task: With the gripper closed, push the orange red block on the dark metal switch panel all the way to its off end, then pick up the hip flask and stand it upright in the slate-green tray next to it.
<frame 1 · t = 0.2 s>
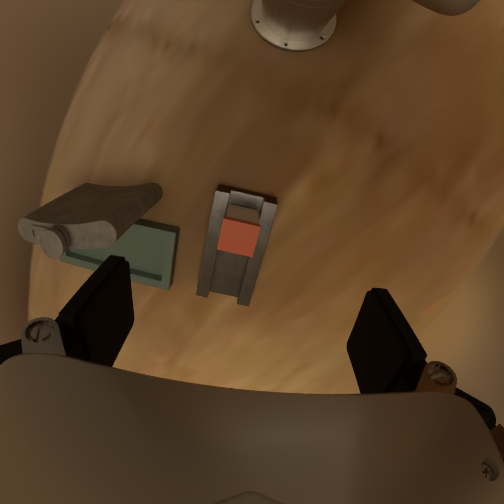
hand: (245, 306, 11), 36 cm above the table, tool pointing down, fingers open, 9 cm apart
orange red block: (239, 228, 42), point 6 cm above the table, slide at 0.0 cm
tray: (115, 242, 49), on the table
switch panel: (235, 242, 49), on the table
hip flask: (119, 194, 46), on the table
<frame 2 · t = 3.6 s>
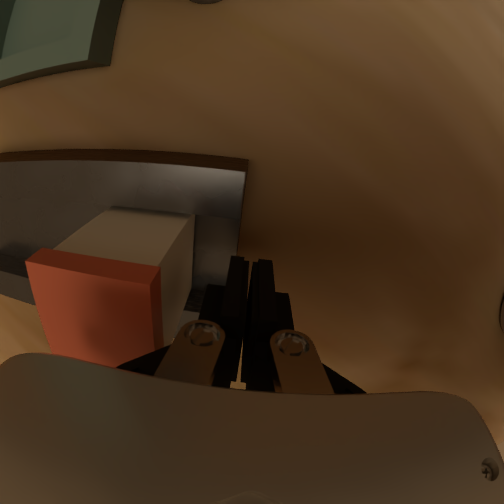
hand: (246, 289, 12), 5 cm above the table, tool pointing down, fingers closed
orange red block: (129, 281, 11), point 6 cm above the table, slide at 0.2 cm, touching gripper
switch panel: (96, 221, 17), on the table
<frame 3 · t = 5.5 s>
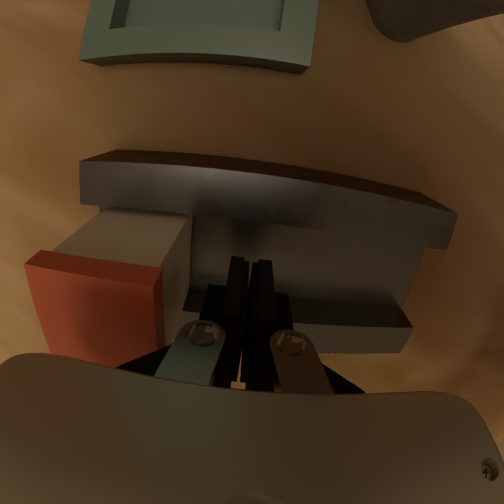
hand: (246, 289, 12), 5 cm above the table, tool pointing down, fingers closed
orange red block: (128, 282, 11), point 6 cm above the table, slide at 10.9 cm, touching gripper
switch panel: (265, 241, 17), on the table
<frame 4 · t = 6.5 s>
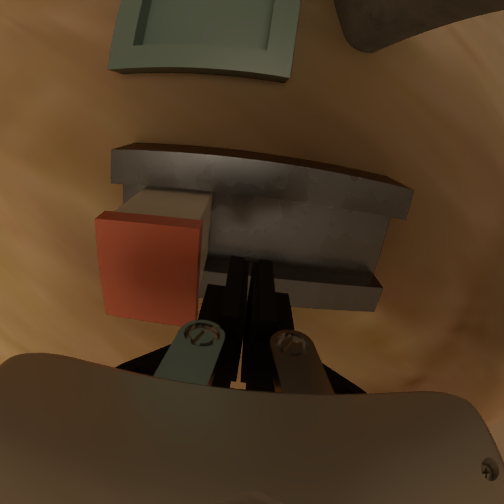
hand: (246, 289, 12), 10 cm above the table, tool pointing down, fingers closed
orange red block: (165, 242, 15), point 6 cm above the table, slide at 10.0 cm
switch panel: (256, 216, 21), on the table
when the fingers open (8 cm above the table, at t = 18.0 s): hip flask stays where it is, resting on tray.
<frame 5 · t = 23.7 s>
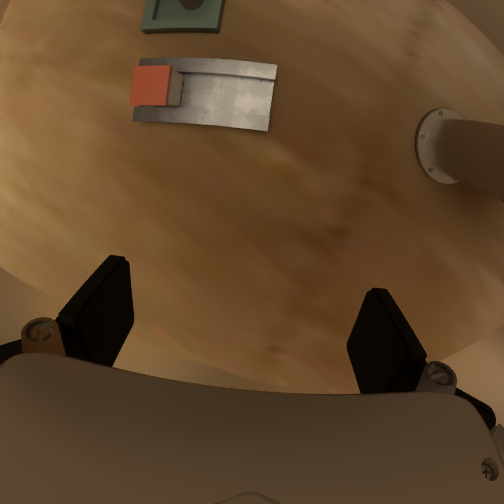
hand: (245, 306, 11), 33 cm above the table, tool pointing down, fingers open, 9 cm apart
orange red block: (159, 87, 31), point 6 cm above the table, slide at 10.0 cm
switch panel: (206, 93, 37), on the table
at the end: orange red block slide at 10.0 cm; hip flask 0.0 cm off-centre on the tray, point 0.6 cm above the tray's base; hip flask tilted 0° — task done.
